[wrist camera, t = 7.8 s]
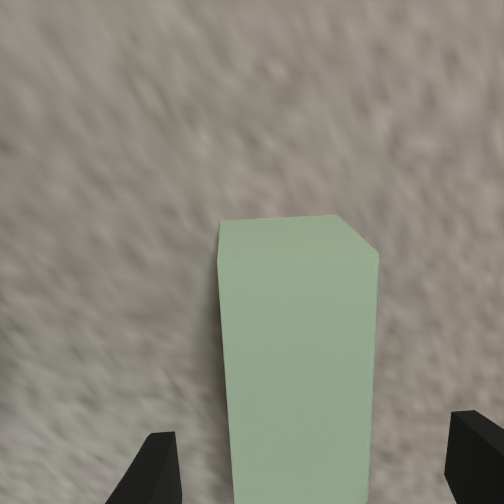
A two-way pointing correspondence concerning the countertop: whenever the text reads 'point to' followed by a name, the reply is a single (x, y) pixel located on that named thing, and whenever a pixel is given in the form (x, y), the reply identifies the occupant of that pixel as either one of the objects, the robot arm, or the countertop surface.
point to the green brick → (298, 358)
